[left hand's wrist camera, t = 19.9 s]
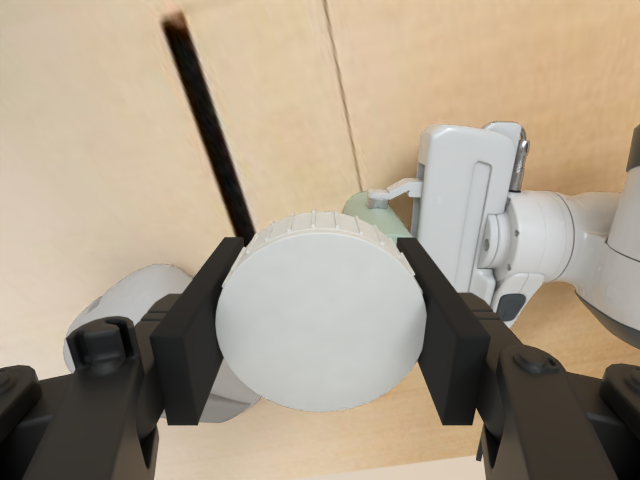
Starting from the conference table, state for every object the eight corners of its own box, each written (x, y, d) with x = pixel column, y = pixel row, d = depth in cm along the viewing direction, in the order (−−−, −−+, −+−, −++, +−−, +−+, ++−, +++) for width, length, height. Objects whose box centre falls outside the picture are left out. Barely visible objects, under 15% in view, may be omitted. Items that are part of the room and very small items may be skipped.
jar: (334, 206, 39) (340, 267, 23) (376, 182, 38) (413, 229, 22) (357, 244, 40) (377, 326, 24) (398, 222, 39) (447, 293, 23)
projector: (109, 394, 48) (23, 503, 35) (86, 244, 41) (-36, 309, 27) (264, 407, 49) (239, 520, 35) (270, 261, 41) (243, 333, 27)
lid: (449, 291, 12) (475, 326, 10) (325, 394, 14) (326, 443, 12) (315, 166, 11) (313, 179, 9) (194, 301, 12) (169, 338, 10)
